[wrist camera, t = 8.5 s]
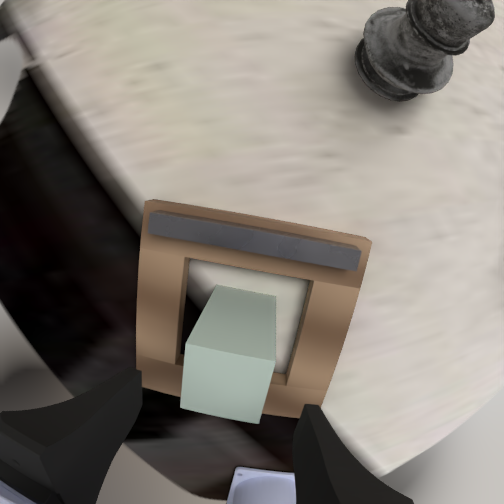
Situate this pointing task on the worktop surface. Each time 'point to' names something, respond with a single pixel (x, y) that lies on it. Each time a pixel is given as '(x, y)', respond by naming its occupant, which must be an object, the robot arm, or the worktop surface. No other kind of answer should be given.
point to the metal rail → (254, 239)
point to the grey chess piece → (418, 45)
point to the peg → (231, 355)
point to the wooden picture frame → (321, 277)
